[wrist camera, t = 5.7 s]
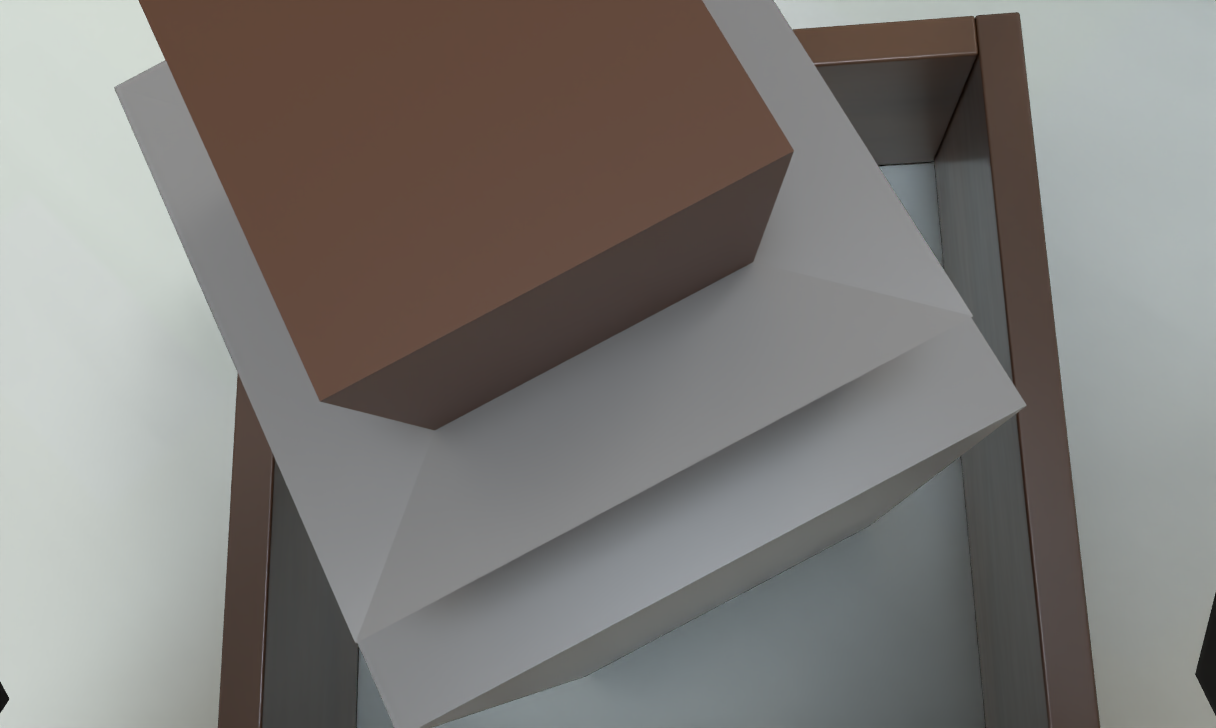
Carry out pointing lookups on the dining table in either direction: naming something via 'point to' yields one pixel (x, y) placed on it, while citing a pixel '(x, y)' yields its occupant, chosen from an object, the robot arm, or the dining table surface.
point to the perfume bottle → (553, 313)
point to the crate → (992, 469)
